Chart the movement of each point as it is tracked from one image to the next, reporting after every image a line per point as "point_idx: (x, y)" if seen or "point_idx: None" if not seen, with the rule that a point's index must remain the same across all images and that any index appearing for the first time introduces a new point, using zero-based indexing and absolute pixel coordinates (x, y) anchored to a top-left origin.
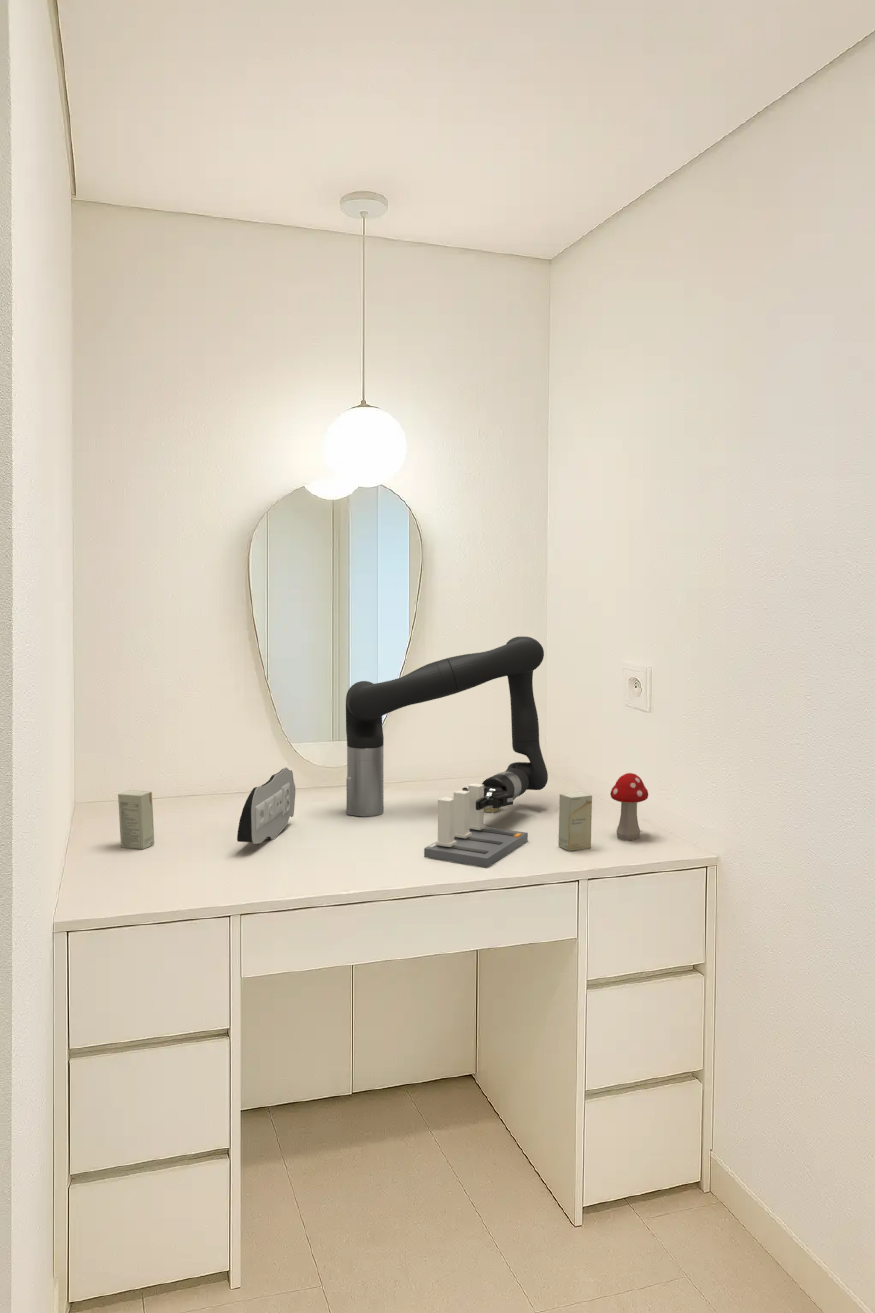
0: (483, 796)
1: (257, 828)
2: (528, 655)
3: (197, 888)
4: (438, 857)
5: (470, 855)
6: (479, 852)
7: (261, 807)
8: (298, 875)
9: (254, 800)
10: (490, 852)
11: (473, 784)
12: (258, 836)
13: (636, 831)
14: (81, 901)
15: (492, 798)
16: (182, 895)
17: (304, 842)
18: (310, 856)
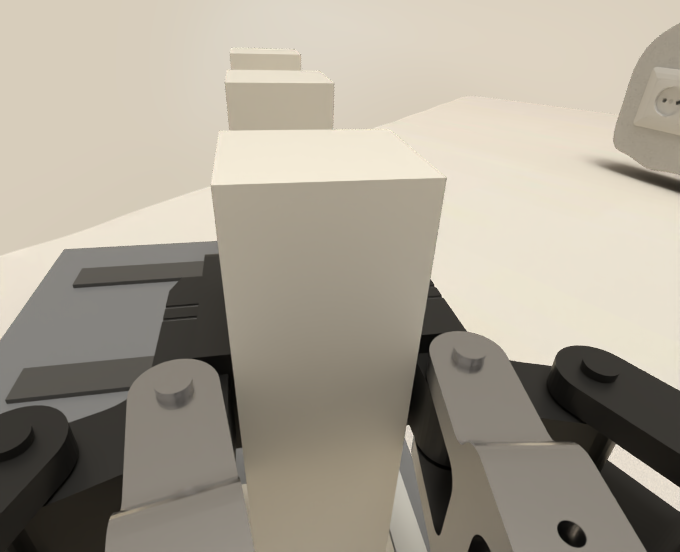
0: (232, 360)
1: (637, 121)
2: None
3: (478, 123)
4: None
5: (138, 246)
6: (110, 267)
7: (678, 79)
8: (438, 155)
9: (657, 48)
10: (62, 287)
11: (376, 154)
12: (642, 146)
13: None
14: (510, 102)
15: (92, 479)
16: (464, 116)
17: (670, 221)
18: (536, 190)
